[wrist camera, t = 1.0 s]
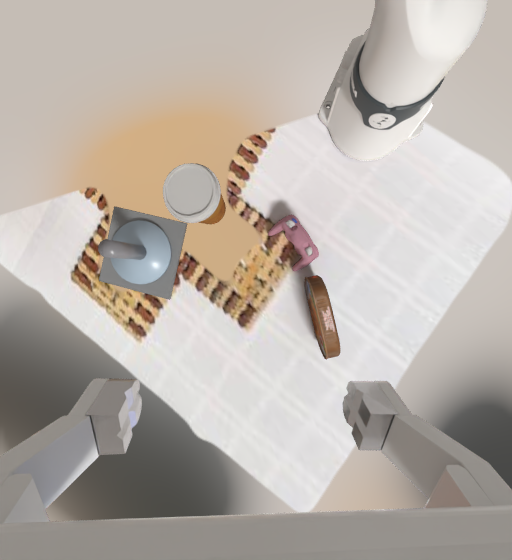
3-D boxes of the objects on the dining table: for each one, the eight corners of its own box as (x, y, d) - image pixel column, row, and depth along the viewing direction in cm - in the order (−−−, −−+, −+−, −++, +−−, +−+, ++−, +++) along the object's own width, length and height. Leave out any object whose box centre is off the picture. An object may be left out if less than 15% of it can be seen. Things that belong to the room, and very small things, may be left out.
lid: (119, 215, 55) (79, 201, 44) (177, 228, 54) (151, 218, 43) (106, 275, 56) (64, 276, 45) (164, 290, 55) (134, 295, 44)
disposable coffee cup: (215, 175, 53) (195, 147, 41) (242, 213, 53) (230, 196, 41) (178, 204, 54) (148, 185, 42) (205, 241, 54) (182, 233, 42)
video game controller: (309, 263, 53) (327, 251, 47) (293, 274, 52) (309, 264, 45) (281, 222, 54) (296, 206, 47) (264, 233, 52) (276, 217, 45)
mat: (115, 206, 56) (114, 206, 55) (187, 223, 54) (186, 223, 54) (100, 280, 57) (98, 280, 56) (170, 299, 55) (169, 299, 55)
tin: (302, 277, 52) (305, 278, 44) (318, 273, 52) (324, 274, 43) (319, 351, 52) (326, 366, 44) (335, 348, 52) (345, 363, 43)
